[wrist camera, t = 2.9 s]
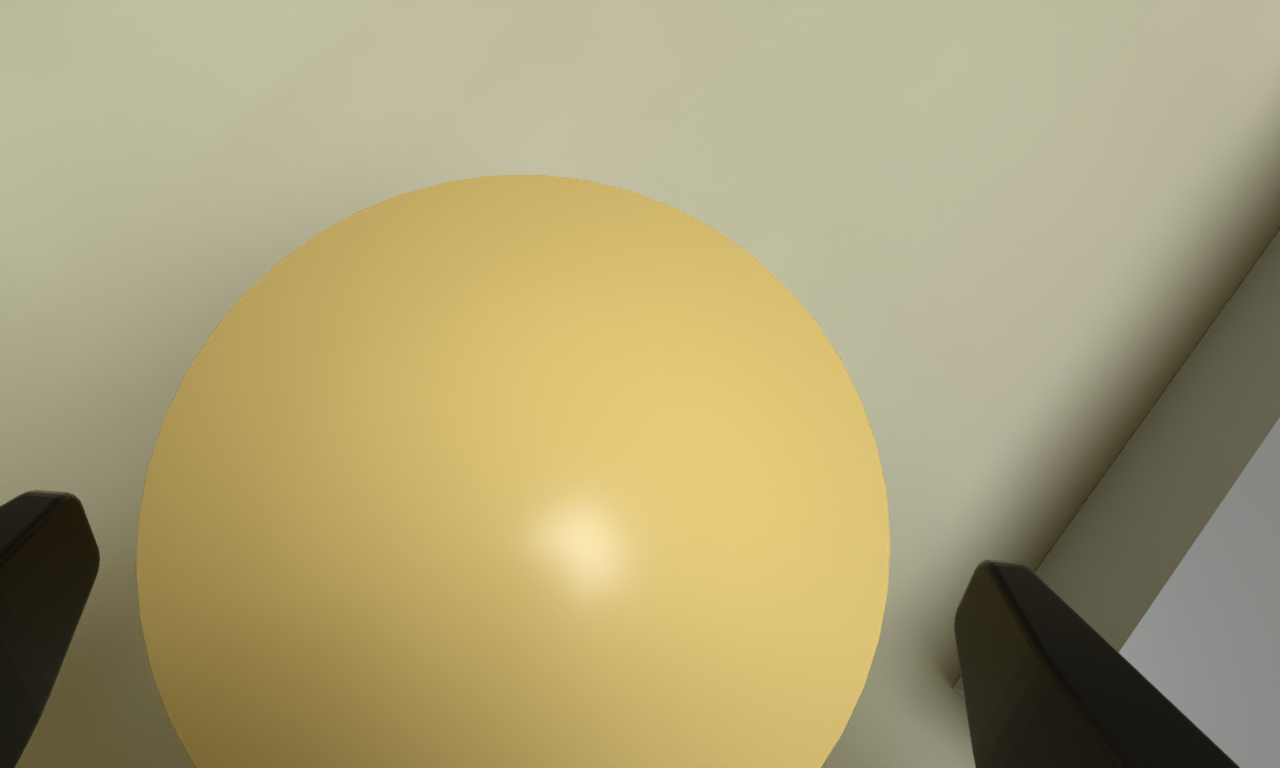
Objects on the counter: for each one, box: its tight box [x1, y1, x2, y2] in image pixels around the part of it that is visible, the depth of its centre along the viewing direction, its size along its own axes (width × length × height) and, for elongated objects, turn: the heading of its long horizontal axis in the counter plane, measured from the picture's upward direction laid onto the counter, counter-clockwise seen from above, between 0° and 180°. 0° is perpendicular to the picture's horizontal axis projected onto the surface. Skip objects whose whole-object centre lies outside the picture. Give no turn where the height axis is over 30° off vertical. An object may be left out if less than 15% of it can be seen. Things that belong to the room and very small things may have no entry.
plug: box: [136, 175, 890, 768], centre depth 11 cm, size 4×4×12 cm
